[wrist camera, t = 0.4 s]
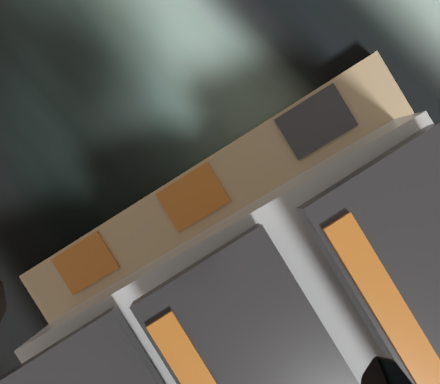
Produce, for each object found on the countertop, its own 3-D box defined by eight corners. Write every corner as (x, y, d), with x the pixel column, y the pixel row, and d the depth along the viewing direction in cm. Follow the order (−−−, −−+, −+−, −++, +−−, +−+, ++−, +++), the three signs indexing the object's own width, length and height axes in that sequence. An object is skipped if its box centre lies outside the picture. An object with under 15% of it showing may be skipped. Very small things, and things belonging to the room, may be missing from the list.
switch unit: (537, 333, 21) (640, 405, 15) (170, 497, 25) (139, 602, 20) (372, 55, 21) (411, 17, 15) (28, 271, 25) (-47, 309, 19)
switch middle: (395, 448, 17) (410, 467, 16) (276, 532, 17) (283, 558, 15) (257, 222, 17) (263, 224, 16) (133, 301, 16) (128, 309, 15)
